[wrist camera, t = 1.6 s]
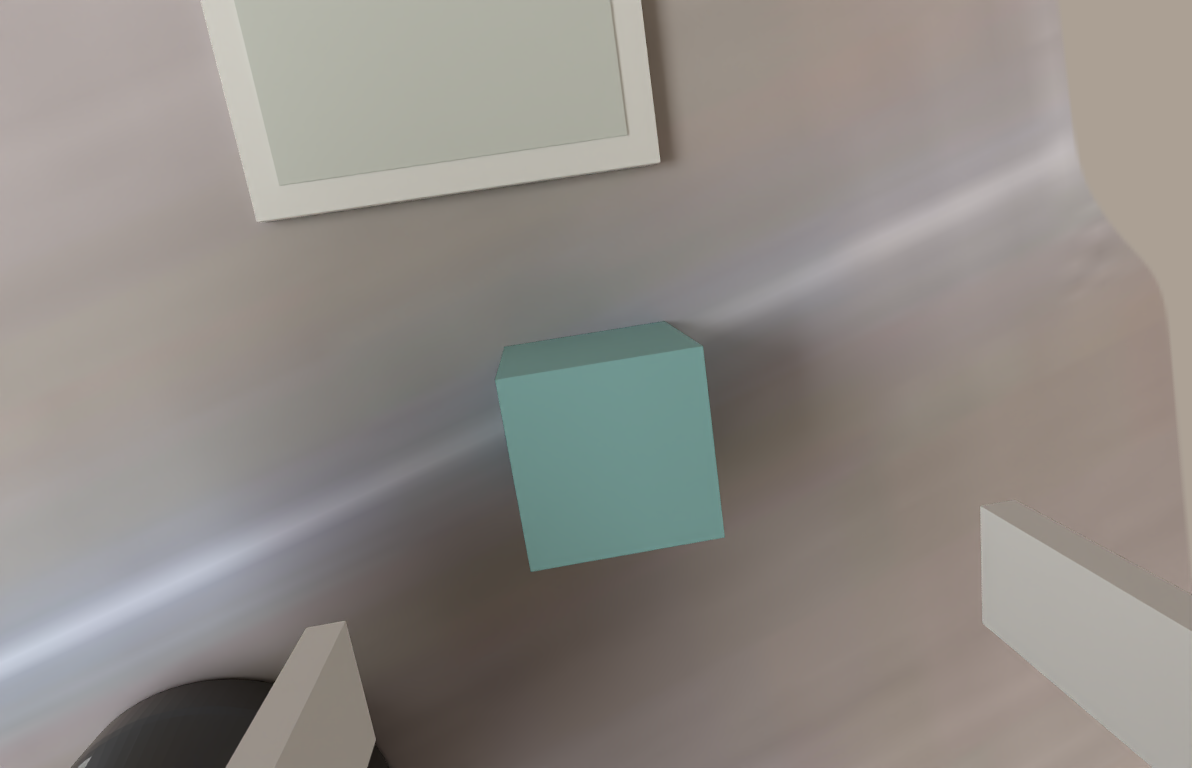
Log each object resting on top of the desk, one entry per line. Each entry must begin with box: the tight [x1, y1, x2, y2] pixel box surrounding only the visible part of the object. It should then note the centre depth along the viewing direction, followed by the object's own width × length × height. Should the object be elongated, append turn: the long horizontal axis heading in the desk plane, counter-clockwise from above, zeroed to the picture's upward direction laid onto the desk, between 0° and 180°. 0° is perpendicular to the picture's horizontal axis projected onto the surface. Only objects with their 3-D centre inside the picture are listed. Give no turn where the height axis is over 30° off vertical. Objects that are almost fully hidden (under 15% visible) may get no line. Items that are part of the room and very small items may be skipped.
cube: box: [495, 321, 725, 572], centre depth 27 cm, size 7×7×7 cm
